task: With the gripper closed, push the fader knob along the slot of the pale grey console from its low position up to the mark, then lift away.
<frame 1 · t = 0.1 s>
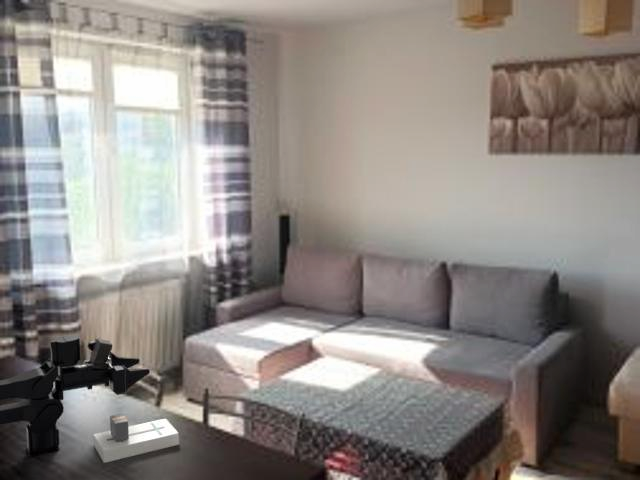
hand: (144, 365, 166), 16 cm above the table, tool horizontal, fingers open, 9 cm apart
console: (136, 445, 157), on the table
fader: (119, 427, 154), point 6 cm above the table, slide at -4.0 cm
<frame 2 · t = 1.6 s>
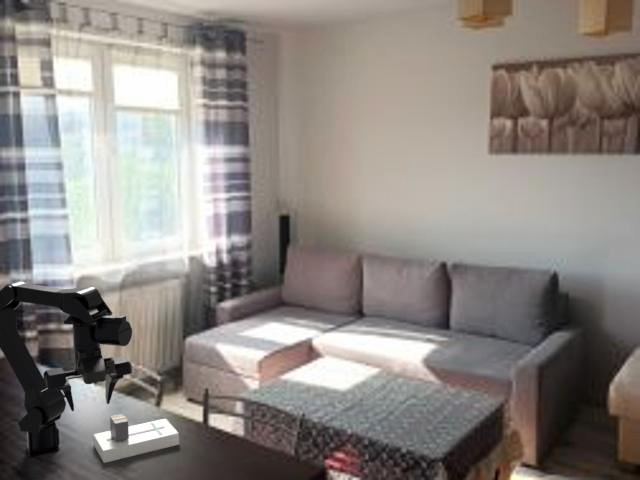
hand: (90, 407, 150), 12 cm above the table, tool pointing down, fingers open, 8 cm apart
nothing on the table moved.
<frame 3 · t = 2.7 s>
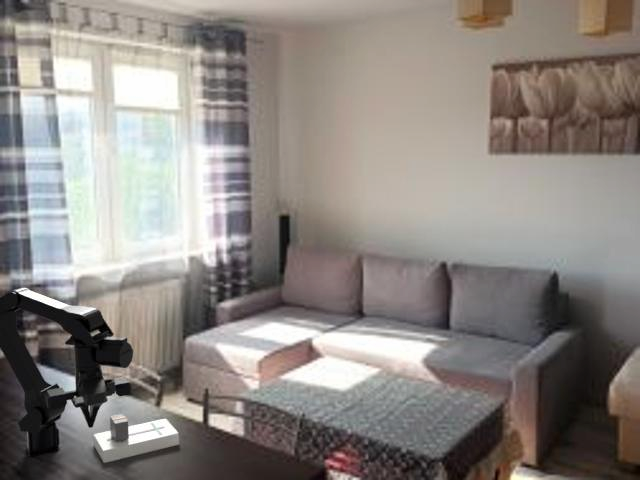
hand: (90, 427, 150), 7 cm above the table, tool pointing down, fingers closed
nothing on the table moved.
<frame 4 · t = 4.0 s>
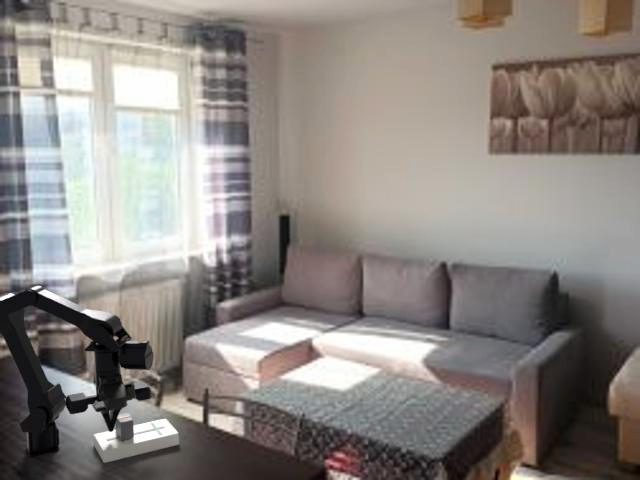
hand: (110, 431, 153), 5 cm above the table, tool pointing down, fingers closed
fader: (124, 426, 155), point 6 cm above the table, slide at -2.8 cm, touching gripper
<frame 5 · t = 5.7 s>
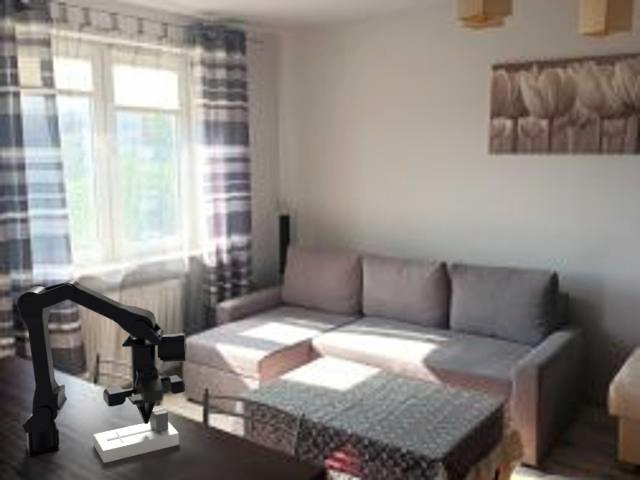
hand: (146, 423, 157), 5 cm above the table, tool pointing down, fingers closed
fader: (159, 418, 159), point 6 cm above the table, slide at 5.8 cm, touching gripper
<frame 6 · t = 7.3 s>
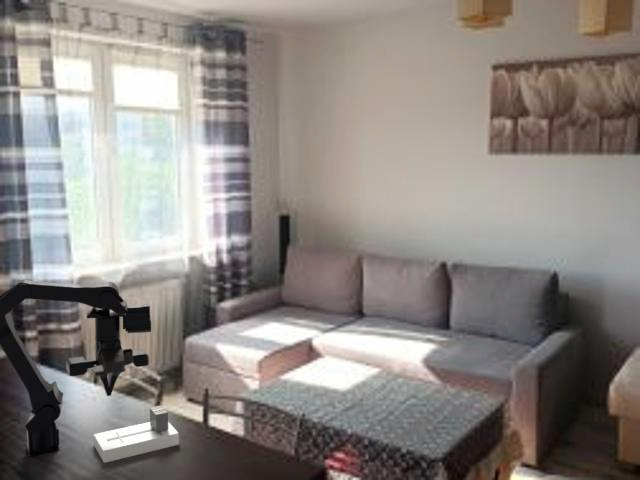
hand: (108, 395, 158), 12 cm above the table, tool pointing down, fingers closed
fader: (159, 418, 159), point 6 cm above the table, slide at 5.8 cm
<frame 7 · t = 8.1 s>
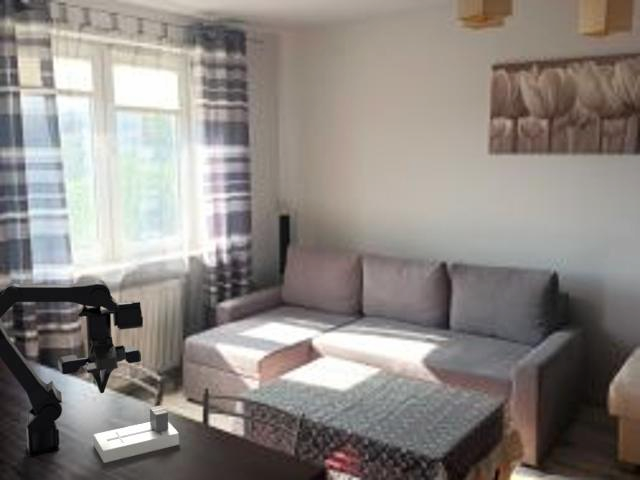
hand: (101, 392, 159), 12 cm above the table, tool pointing down, fingers closed
nothing on the table moved.
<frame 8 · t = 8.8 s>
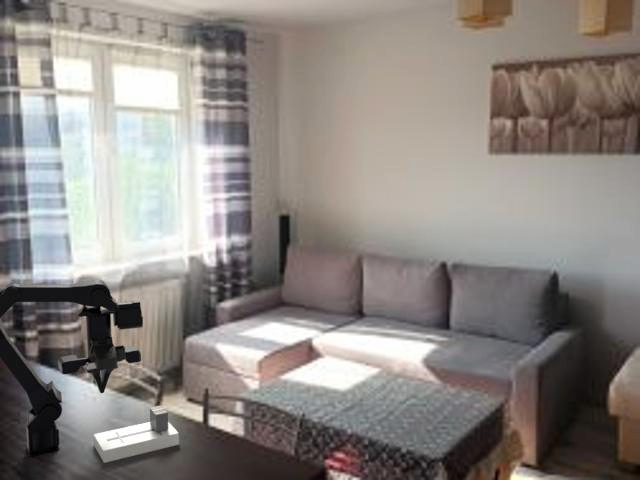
hand: (101, 392, 159), 12 cm above the table, tool pointing down, fingers closed
nothing on the table moved.
at the end: fader slide at 5.8 cm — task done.
